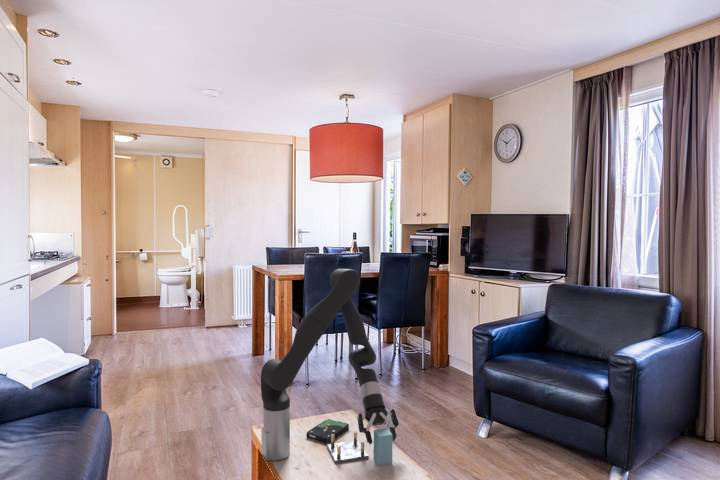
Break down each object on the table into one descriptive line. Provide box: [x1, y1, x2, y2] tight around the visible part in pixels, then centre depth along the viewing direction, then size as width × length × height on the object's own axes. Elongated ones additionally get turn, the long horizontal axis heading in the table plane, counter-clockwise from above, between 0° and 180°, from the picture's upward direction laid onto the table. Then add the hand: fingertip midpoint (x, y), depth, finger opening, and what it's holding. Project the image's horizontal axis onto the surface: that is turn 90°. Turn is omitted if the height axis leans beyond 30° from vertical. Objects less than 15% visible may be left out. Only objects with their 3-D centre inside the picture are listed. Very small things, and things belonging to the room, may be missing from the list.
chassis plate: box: [326, 431, 370, 464], centre depth 163 cm, size 12×12×5 cm
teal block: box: [373, 427, 393, 466], centre depth 157 cm, size 5×5×10 cm
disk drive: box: [306, 418, 350, 445], centre depth 178 cm, size 10×3×15 cm
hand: (382, 441), depth 158 cm, fingers open, 8 cm apart
